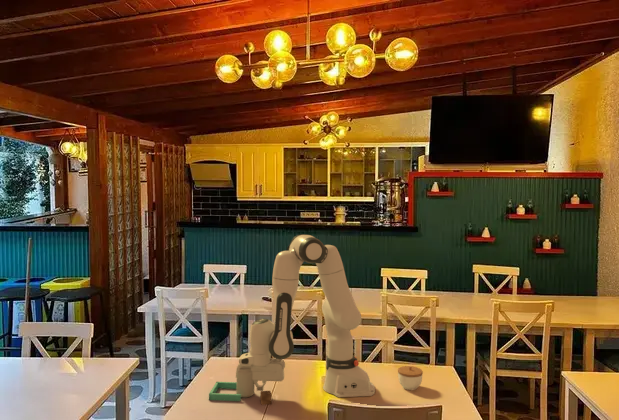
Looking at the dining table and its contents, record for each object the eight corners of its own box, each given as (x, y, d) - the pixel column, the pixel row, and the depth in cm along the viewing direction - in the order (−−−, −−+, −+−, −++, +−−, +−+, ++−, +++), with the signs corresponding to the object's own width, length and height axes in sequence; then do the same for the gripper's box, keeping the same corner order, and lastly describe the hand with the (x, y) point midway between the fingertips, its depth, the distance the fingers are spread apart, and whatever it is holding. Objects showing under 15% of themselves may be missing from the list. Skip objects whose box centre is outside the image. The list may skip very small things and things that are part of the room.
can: (246, 389, 217) (245, 362, 216) (258, 394, 212) (258, 366, 211) (232, 395, 211) (232, 366, 210) (245, 399, 206) (245, 371, 206)
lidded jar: (406, 380, 229) (407, 360, 229) (427, 387, 221) (427, 366, 221) (392, 387, 221) (393, 366, 221) (413, 394, 214) (413, 373, 213)
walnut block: (270, 400, 207) (270, 390, 207) (271, 404, 203) (271, 394, 203) (260, 400, 206) (260, 391, 206) (261, 405, 202) (261, 395, 202)
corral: (246, 388, 218) (246, 382, 218) (240, 401, 205) (240, 395, 205) (216, 387, 219) (216, 381, 219) (208, 400, 206) (208, 394, 206)
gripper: (285, 356, 213) (285, 388, 213) (238, 354, 214) (237, 386, 215) (284, 361, 206) (283, 394, 207) (235, 359, 208) (234, 392, 208)
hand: (260, 390), depth 211 cm, fingers closed
